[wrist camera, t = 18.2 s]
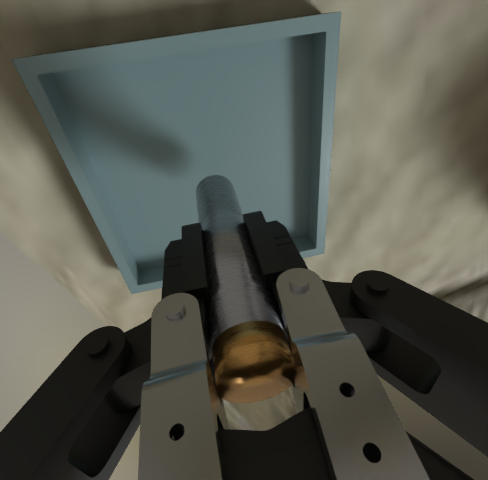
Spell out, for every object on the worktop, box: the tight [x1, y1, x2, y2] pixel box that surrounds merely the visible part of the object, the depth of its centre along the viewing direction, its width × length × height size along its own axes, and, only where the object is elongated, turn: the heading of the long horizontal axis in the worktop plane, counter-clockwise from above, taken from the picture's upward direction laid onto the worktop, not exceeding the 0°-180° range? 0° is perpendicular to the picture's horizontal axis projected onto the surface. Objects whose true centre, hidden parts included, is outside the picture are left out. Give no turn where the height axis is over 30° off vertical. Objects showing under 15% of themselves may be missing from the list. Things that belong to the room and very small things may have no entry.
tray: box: [12, 12, 341, 294], centre depth 16 cm, size 13×13×2 cm
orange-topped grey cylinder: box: [196, 175, 295, 403], centre depth 11 cm, size 2×2×10 cm
